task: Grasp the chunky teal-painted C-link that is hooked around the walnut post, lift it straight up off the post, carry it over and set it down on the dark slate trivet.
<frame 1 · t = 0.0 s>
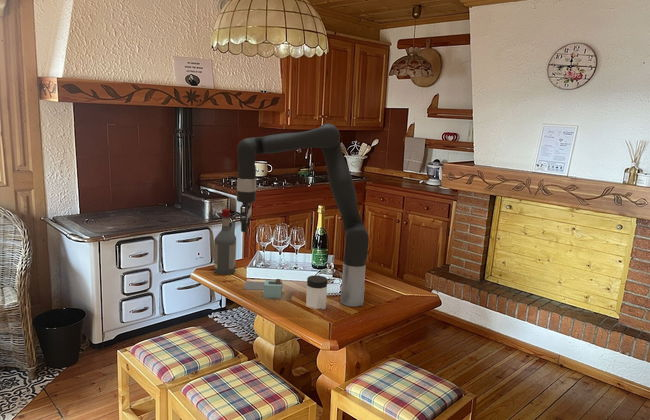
hand: (245, 229, 197), 29 cm above the table, fingers open, 8 cm apart
liquor: (224, 272, 232), on the table
jar: (315, 307, 199), on the table
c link: (273, 295, 205), point 1 cm above the table, touching post stand
post stand: (277, 297, 205), on the table
trivet: (255, 288, 214), on the table
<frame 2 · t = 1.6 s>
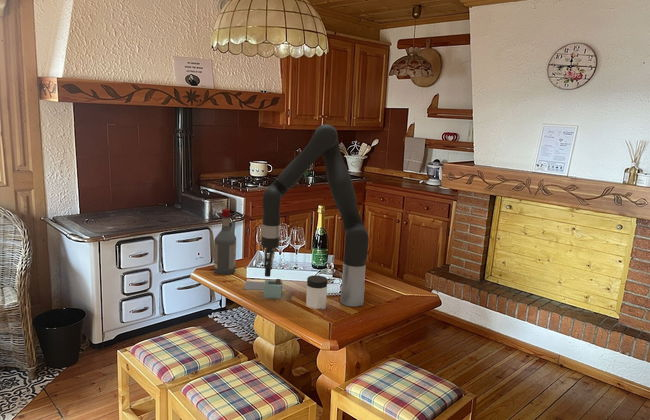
hand: (268, 272, 203), 11 cm above the table, fingers open, 8 cm apart
nothing on the table moved.
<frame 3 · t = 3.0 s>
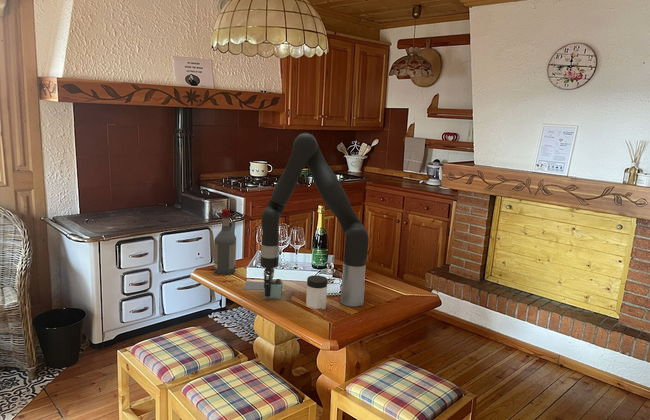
hand: (268, 292, 205), 2 cm above the table, fingers closed on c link, 6 cm apart
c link: (273, 295, 205), point 1 cm above the table, touching gripper, post stand
everything else where it was.
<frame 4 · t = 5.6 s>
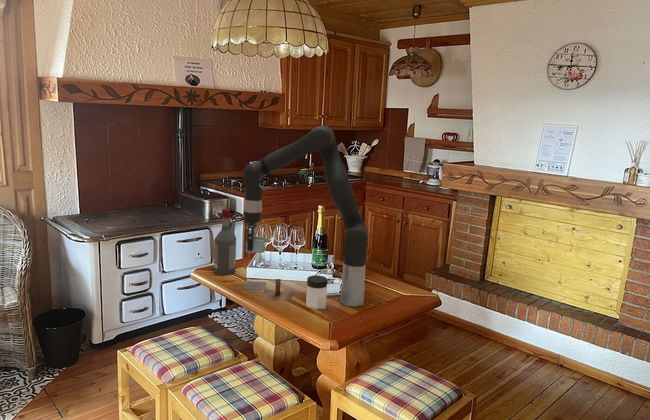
hand: (250, 248, 209), 18 cm above the table, fingers closed on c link, 6 cm apart
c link: (256, 250, 209), point 17 cm above the table, touching gripper
everything else where it was.
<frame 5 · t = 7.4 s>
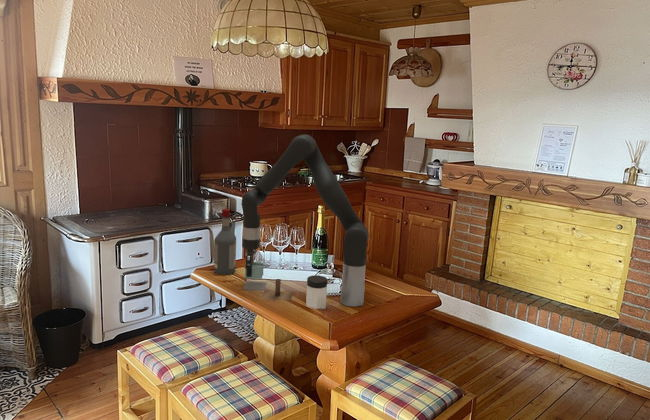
hand: (250, 273, 213), 6 cm above the table, fingers closed on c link, 6 cm apart
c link: (255, 276, 213), point 5 cm above the table, touching gripper
everything else where it was.
when the fingers open (4 cm above the table, at t = 8.5 s): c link drops 1 cm, resting on trivet.
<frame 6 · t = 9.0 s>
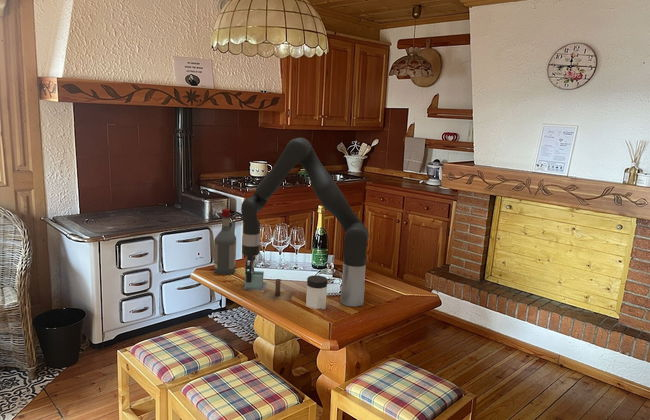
hand: (250, 278, 213), 4 cm above the table, fingers open, 8 cm apart
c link: (255, 285, 214), point 1 cm above the table, touching trivet
everything else where it was.
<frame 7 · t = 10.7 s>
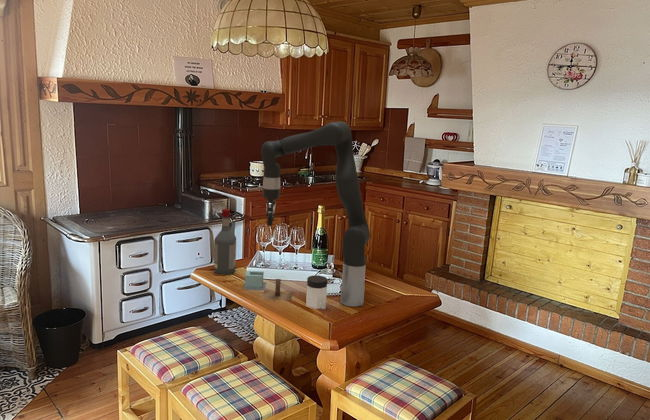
hand: (270, 223, 217), 27 cm above the table, fingers open, 8 cm apart
nothing on the table moved.
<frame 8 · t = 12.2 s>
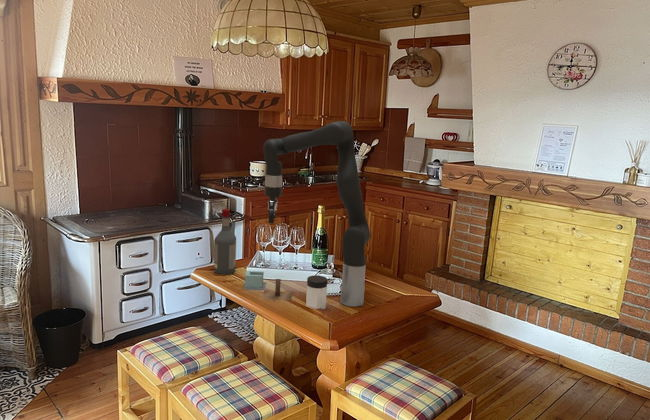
hand: (272, 221, 217), 28 cm above the table, fingers open, 8 cm apart
nothing on the table moved.
at the end: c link inside the target area on the trivet (0.0 cm from its centre), point 1.2 cm above the trivet's base; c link tilted 0°; the gripper is holding nothing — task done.
